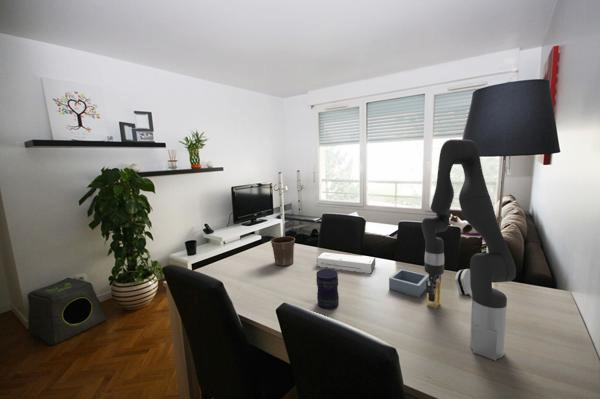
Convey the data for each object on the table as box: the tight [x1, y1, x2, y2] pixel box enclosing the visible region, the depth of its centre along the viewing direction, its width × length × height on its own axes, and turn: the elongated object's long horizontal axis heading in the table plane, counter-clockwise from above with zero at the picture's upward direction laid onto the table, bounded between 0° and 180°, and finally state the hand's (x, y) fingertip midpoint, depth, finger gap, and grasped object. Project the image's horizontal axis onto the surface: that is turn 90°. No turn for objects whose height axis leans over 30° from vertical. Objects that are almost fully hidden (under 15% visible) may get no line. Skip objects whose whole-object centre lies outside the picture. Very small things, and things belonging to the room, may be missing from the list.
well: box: [388, 268, 429, 299], centre depth 133 cm, size 14×14×6 cm
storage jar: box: [315, 268, 340, 311], centre depth 121 cm, size 10×10×15 cm
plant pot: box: [270, 236, 296, 266], centre depth 175 cm, size 16×16×16 cm
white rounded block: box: [454, 268, 472, 298], centre depth 130 cm, size 17×5×10 cm, turn 135°
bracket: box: [426, 280, 442, 309], centre depth 117 cm, size 5×4×10 cm
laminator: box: [316, 252, 376, 274], centre depth 165 cm, size 34×12×6 cm, turn 64°
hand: (433, 298), depth 117 cm, fingers open, 5 cm apart
